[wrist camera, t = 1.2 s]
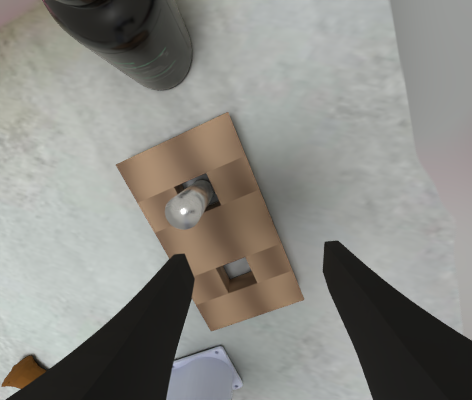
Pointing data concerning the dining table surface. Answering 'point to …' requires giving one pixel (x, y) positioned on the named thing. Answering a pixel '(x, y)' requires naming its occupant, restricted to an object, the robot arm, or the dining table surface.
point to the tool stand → (216, 222)
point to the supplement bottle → (130, 36)
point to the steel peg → (189, 205)
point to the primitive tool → (23, 373)
